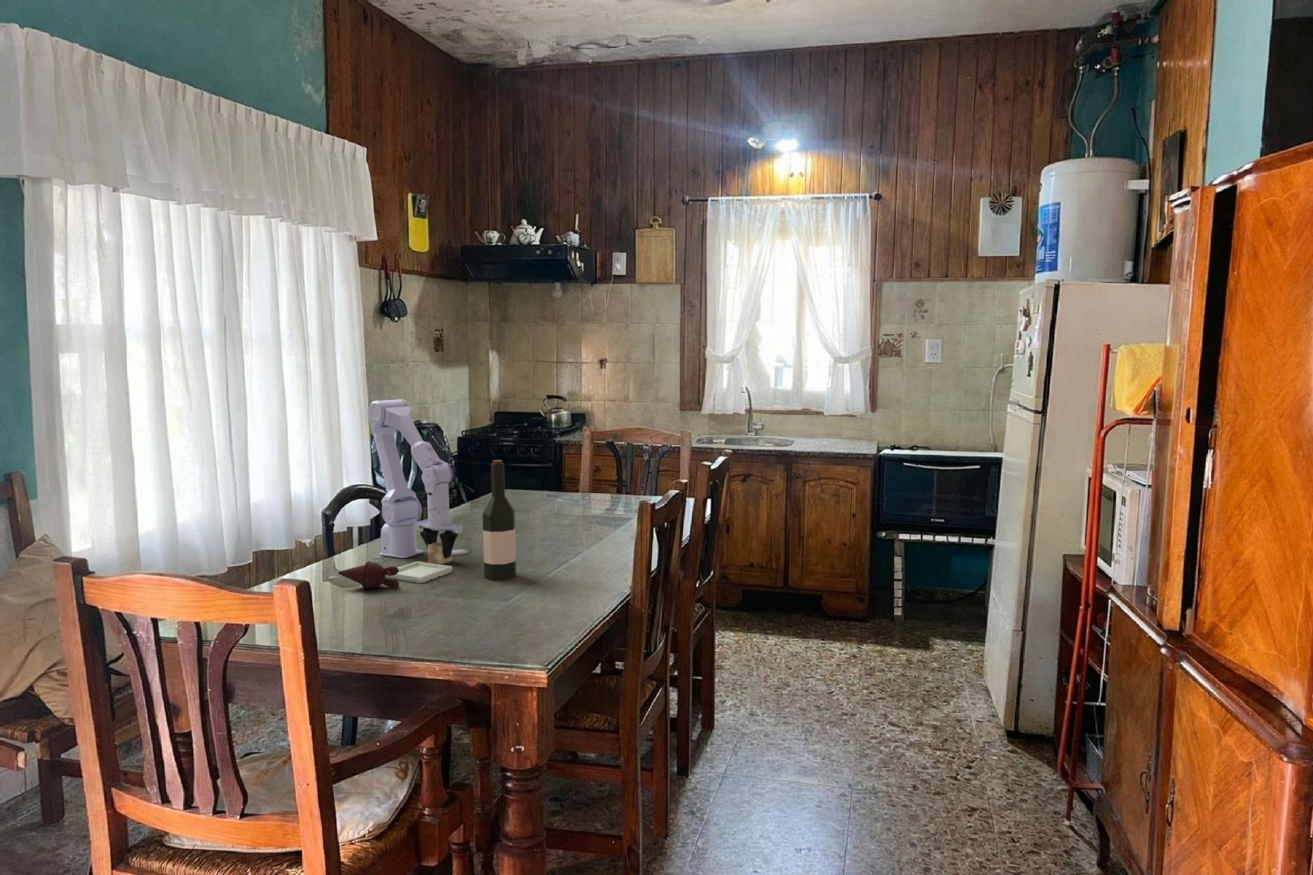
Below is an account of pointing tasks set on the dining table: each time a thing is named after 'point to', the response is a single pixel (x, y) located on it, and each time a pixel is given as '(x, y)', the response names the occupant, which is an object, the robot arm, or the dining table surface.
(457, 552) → the pad
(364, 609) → the dining table surface
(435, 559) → the block
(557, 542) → the dining table surface
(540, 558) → the dining table surface
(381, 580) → the icecream
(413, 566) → the tray
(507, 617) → the dining table surface
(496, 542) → the wine bottle
